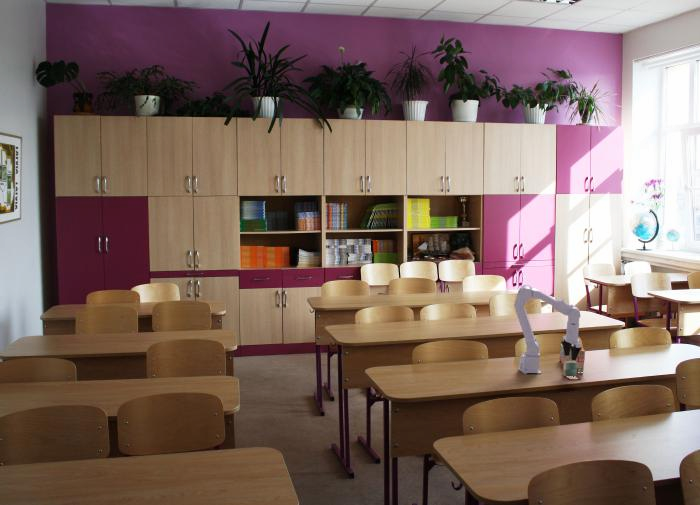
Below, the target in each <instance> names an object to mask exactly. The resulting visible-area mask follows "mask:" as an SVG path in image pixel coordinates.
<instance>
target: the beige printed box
mask: <svg viewBox="0 0 700 505" xmlns="http://www.w3.org/2000/svg"><path fill="white" fill-rule="evenodd" d="M572 346H574V345H573V344H572ZM585 357H586V350H585V349H584V348H583V347H582V349H581V350H580V352H579V354H578V356H577V359H576V360H572V359H571V349H570V354H569V356H565V355H564V349H563V345H562V344H560V345H559V360H560V361H561V362H562V363H563V364H564V361H576V362H577V372H576V374H581V372H583V373H584V369H585V368H584V367H585V366H584V365H585V360H586V358H585ZM560 361H559V362H560ZM561 362H560V363H561ZM562 363H561V364H562ZM563 364H562V365H563ZM578 372H580V373H578Z"/></svg>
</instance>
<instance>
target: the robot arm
mask: <svg viewBox="0 0 700 505" xmlns="http://www.w3.org/2000/svg"><path fill="white" fill-rule="evenodd" d="M531 299H532V300H540V301H542V302H545V303H546V304H548V305H551V306H552V308H553V310H555V311H556V312H558V313H560V314H562V315H564V316H567V322H566V331H565V332H566V334H565V335H563V336H562V340H561V341H560V343H561V345H563V349H564V355H565V356H569V354H570V349H571V359H572V360H576V359H577V356H578V354H579V352H580V350H581V349H582V348H583V347H582V345H581V343H580V341H581V340H580V339H579V333H580V332H579V329H580V318H581V311H580V309H579V308H578V307H577V306H576V305H573V304H569V303H568V302H566V301H565V300H564V299H561V298H560V299H559V298H558V299H555V298H553V297H551V296H550V295H548V294H546V293H545V292H542V291H541V290H539V289H538V288H535V287H533V286H531V285H529V284H523V285H522V286H521V287H520V288H519V289H518V291H517V293H516V297H515V301H514V304H513V307H514V309H515V313H516V315H517V316H516V317H517V319H518V323H519V324H520V327H521V330H522V334H523V336H524V341H525V344H526V345H525V346H526V350H525V353H524V354H521V355H520V356H519V362H518V363H519V364H518V366H519V367H518V370H519V371H520V372H521V373H522V374H524V375H526V374H527V373H537V374H543V373H542V371H540V357H541V356H540V355H541V354H540V342H539V341H538V340H537V338H536V336H535V334H534V331H533V328H532V325H531V323H530V320H529V318H528V317H529V316H528V314H527V313H528V312H527V311H526V308H525V305H526V303H527V302H528V301H530V300H531ZM572 344H573V345H574V346H572Z"/></svg>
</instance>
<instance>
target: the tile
mask: <svg viewBox="0 0 700 505" xmlns="http://www.w3.org/2000/svg"><path fill="white" fill-rule="evenodd" d="M562 365H563V364H562ZM562 368H563V369H562V374H563V375H564V376H577V373H576V372H577V362H576V361H564V365H563V367H562ZM563 375H562V376H563ZM564 376H563V377H564Z"/></svg>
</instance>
